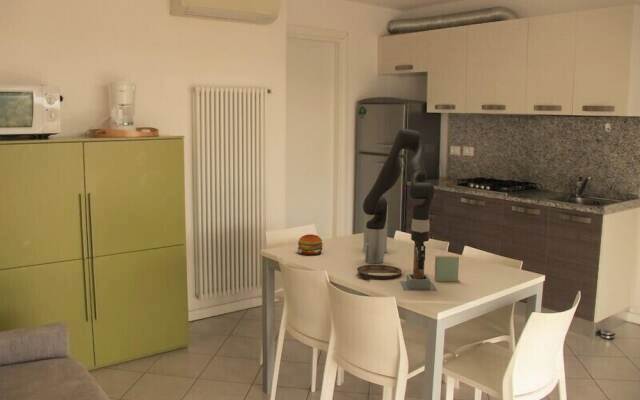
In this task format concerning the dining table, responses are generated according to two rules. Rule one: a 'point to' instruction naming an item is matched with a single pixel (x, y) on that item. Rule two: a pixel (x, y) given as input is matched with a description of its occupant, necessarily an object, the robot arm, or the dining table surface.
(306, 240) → the burger
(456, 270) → the tile
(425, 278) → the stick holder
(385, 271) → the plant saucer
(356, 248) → the dining table surface
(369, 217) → the cylinder vase
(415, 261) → the wooden stick
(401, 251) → the dining table surface
